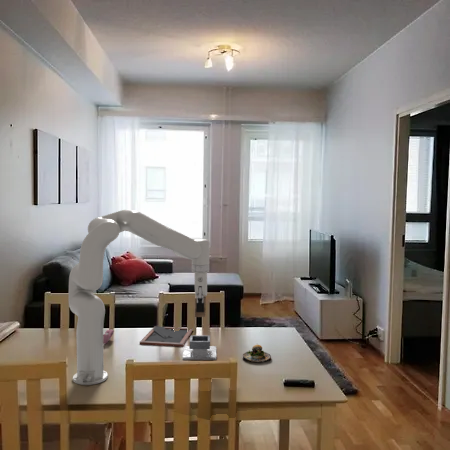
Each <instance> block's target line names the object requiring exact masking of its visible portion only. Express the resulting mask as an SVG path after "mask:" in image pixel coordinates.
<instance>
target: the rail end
mask: <svg viewBox="0 0 450 450" xmlns="http://www.w3.org/2000/svg"><path fill="white" fill-rule="evenodd" d="M206 297H207V296H205V295H204V297H203V303H204V312H196V303H197V296H196V295H195V296H194V317H195V318H206V316H207V315H206V312H207V311H206V309H207V308H206V302H207V299H206ZM198 298H199V297H198Z"/></svg>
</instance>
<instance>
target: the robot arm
mask: <svg viewBox="0 0 450 450" xmlns="http://www.w3.org/2000/svg"><path fill="white" fill-rule="evenodd" d="M87 232H88V234H86V236H85V237H84V239H83V241H81V242H82V243H81V246H80V249H79V260H78V261H79V262H78V263H77V264H75V265H74V266H73V267H72V268H71V269H70V273H69V277H68V300H67V301H68V306H69V309H70V311H71V312H72V313H73V314H75V315H76V316H77V323H76V331H75V332H76V337H75V339H76V373H75V374H73V376H72V381H73V383H75V384H77V385H80V386H93V385H97V384H100V383H104V381H106V380H107V379H108V377H109V373H108V372H107V371H105V370H104V366H105V365H104V344H103V335H104V323H105V314H106V307H105V304H104V302H103V299H101V298H100V297H99V296H98V295H96V294H94V292H96V291H97V290H99V289H100V288H101V287H102V284H103V281H104V260H105V259H104V258H105V257H104V256H105V252H106V249H107V247H108V246H110V244H111V243H112V242H114V241H115V240H116V239H118V237H119V235H120V233H123V232H129V233H130V234H131V233H132V234H133V235H135V236H137V237H139V238H141V239H143V240H145V241H147V242H149V243H151V244H152V245H155V246H158V247H161V248H165V249H169V250H171V251H172V253H173V254H175V256H177V257H179V258H183V259H187V260H191V273H193V274H194V293H195V296H197V303H196V312H204V303H203V297H204V296H206V297H207V295H208V273H210V256H211V255H210V254H211V253H210V252H211V251H210V248H211V246H210V241H209V240H208V239H205V238H195V239H193V238H191V237H189V236H188V235H186V234H184V233H181V232H178V231H177V230H174V229H173V228H171V227H168V226H167V225H165V224H162V223H160V222H158V221H157V220H155V219H153V218H152V217H149V216H148V215H146V214H144V213H142V212H140V211H138V210H133V209H123V210H122V209H121V210H118V211H115V212H112V213H108V214H106V215H102V216H99V217H95V218H93V219H92V220H91V221H90V222H89V223H88V226H87ZM198 297H199V298H198Z"/></svg>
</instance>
